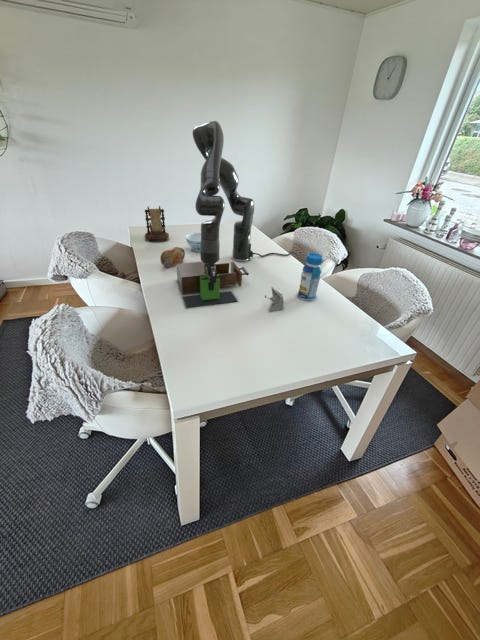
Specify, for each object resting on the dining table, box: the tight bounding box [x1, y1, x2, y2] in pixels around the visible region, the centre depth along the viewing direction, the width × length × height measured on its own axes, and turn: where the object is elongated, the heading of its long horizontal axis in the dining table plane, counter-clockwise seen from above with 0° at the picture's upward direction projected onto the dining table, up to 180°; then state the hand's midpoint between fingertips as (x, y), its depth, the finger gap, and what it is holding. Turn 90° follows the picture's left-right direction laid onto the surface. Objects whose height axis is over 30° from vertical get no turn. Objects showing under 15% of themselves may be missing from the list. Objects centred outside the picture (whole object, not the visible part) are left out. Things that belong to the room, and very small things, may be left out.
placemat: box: [182, 290, 238, 309], centre depth 132 cm, size 22×9×1 cm, turn 109°
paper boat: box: [264, 286, 285, 312], centre depth 129 cm, size 12×6×9 cm
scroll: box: [144, 205, 170, 243], centre depth 185 cm, size 15×15×20 cm
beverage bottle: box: [297, 252, 324, 301], centre depth 133 cm, size 8×8×20 cm
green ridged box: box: [199, 275, 221, 300], centre depth 128 cm, size 8×4×10 cm, turn 109°
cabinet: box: [175, 261, 205, 296], centre depth 139 cm, size 16×15×9 cm
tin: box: [159, 246, 186, 268], centre depth 158 cm, size 15×3×8 cm, turn 143°
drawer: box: [215, 261, 250, 288], centre depth 144 cm, size 19×13×7 cm
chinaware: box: [185, 232, 201, 253], centre depth 177 cm, size 15×15×8 cm
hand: (209, 287), depth 128 cm, fingers closed on green ridged box, 4 cm apart
